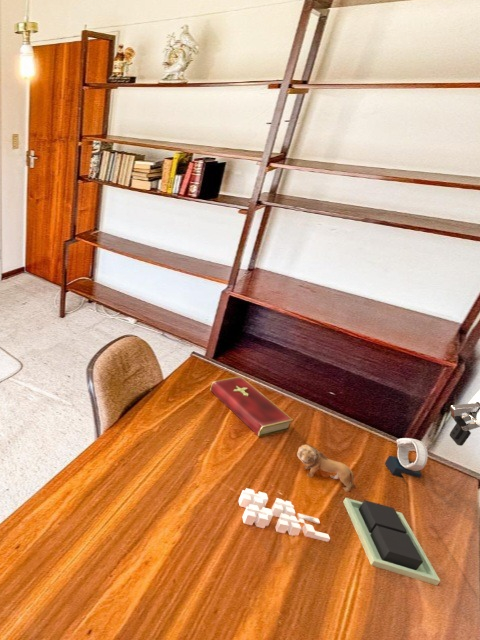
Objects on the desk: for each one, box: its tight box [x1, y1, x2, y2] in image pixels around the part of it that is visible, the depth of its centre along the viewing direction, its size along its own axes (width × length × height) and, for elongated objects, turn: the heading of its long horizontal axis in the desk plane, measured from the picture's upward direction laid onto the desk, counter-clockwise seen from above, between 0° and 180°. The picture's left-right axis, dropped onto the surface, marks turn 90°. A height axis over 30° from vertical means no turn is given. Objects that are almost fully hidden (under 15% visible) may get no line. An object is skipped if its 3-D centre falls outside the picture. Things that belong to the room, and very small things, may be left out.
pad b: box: [370, 526, 423, 570], centre depth 86 cm, size 6×6×4 cm
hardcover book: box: [209, 375, 294, 438], centre depth 126 cm, size 12×21×4 cm, turn 16°
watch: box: [384, 437, 429, 479], centre depth 105 cm, size 6×8×11 cm
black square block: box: [359, 499, 407, 534], centre depth 92 cm, size 6×6×4 cm
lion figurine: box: [296, 444, 356, 493], centre depth 103 cm, size 15×5×9 cm, turn 69°
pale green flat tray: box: [343, 497, 441, 586], centre depth 90 cm, size 12×16×2 cm
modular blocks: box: [238, 487, 331, 543], centre depth 92 cm, size 20×7×4 cm, turn 75°
